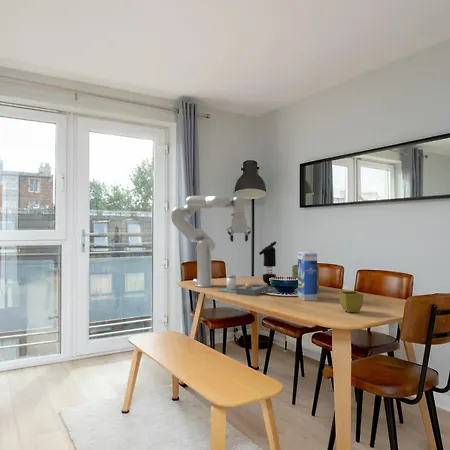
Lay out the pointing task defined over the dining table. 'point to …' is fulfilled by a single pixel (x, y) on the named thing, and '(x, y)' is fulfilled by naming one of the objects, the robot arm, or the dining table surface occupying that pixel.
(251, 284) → the release plunger
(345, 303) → the flower pot
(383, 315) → the dining table surface
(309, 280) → the string lights box
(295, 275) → the protein box
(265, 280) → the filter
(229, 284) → the dome-topped cylinder
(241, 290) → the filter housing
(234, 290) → the mat
